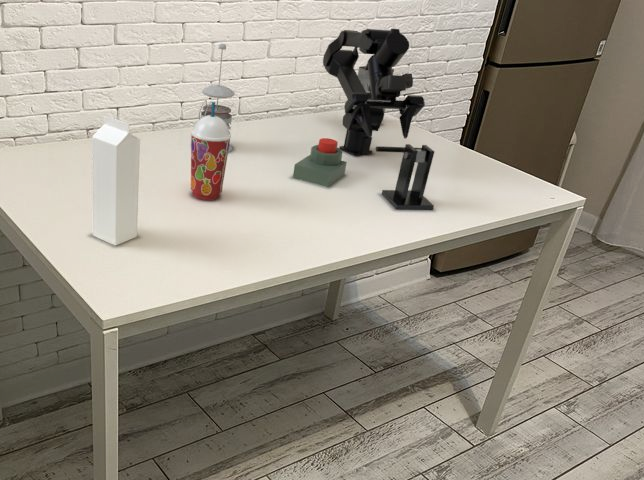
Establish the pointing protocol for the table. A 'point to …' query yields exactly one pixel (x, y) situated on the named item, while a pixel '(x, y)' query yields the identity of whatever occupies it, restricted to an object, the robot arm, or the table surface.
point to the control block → (320, 167)
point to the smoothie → (209, 156)
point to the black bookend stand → (414, 197)
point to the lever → (419, 157)
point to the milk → (115, 182)
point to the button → (327, 145)
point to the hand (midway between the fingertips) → (388, 137)
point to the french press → (217, 92)
